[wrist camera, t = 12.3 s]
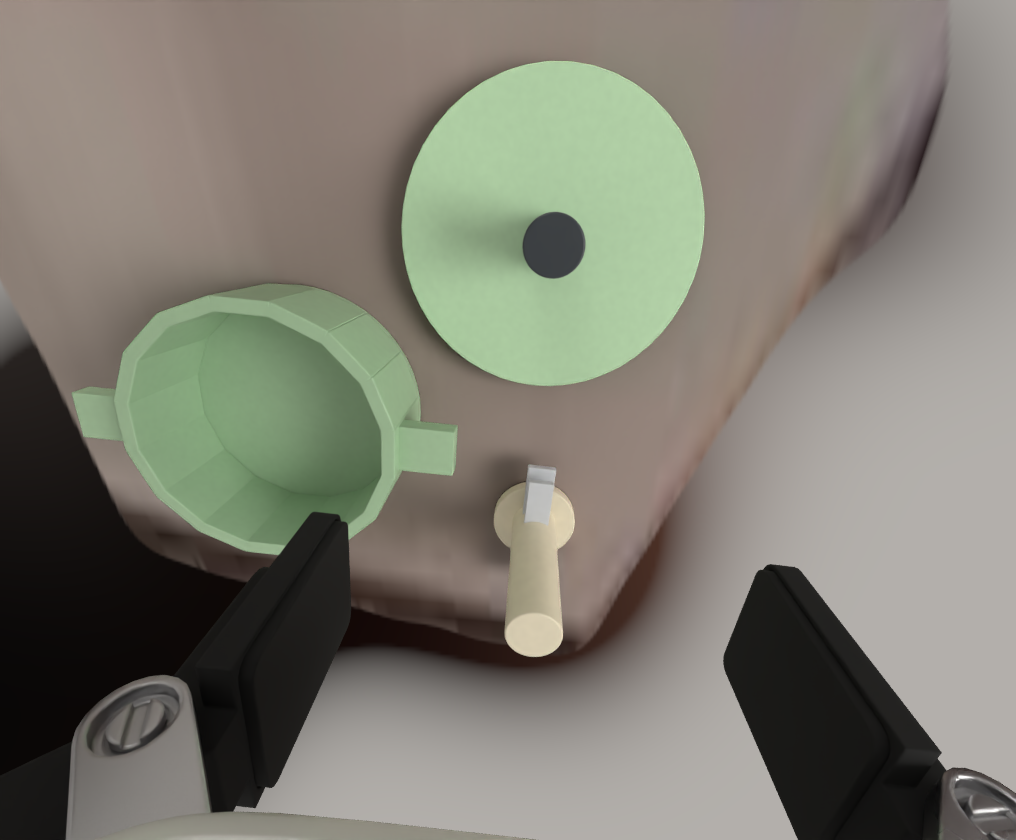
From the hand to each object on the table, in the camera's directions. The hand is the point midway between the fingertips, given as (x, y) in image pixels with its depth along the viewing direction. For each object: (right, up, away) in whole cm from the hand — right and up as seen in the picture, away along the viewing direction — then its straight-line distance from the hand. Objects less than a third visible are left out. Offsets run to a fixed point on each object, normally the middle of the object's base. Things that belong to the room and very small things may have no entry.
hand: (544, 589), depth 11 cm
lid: (+1, +13, +12) cm, 18 cm away
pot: (-13, +5, +17) cm, 22 cm away
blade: (+1, -2, +19) cm, 19 cm away
